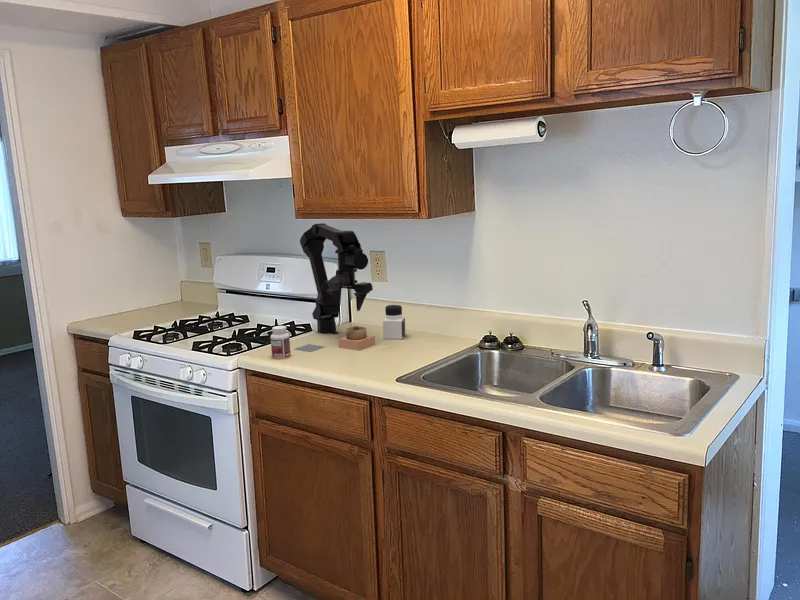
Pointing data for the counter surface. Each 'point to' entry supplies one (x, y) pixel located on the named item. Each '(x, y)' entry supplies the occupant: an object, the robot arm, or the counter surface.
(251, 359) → the counter surface
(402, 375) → the counter surface
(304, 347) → the coaster mat
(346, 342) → the salmon pink square box
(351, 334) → the walnut lid
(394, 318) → the medicine bottle
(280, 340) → the pill bottle
